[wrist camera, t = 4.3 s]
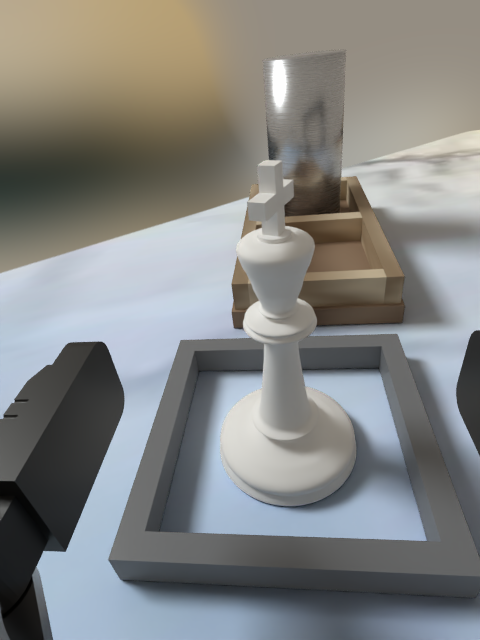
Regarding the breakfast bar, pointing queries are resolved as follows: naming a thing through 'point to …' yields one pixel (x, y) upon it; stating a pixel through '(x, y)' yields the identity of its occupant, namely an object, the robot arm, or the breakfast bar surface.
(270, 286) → the chess piece
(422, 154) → the breakfast bar surface
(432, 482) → the frame
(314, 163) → the steel peg
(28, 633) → the robot arm
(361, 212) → the wooden divided tray
